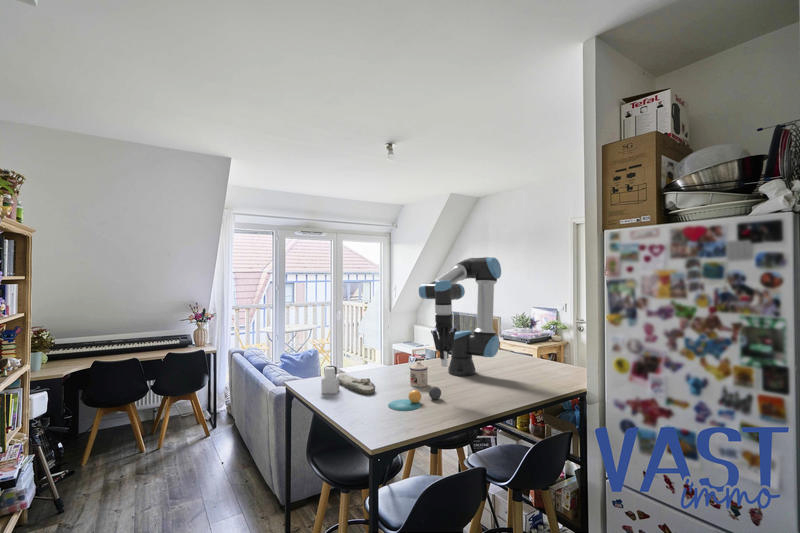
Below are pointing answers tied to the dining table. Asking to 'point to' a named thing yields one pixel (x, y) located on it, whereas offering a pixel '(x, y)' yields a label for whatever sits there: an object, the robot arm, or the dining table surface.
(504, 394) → the dining table surface
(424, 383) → the teacup with lid
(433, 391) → the dark grey ball
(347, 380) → the long grey stone
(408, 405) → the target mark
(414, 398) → the object ball
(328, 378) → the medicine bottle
